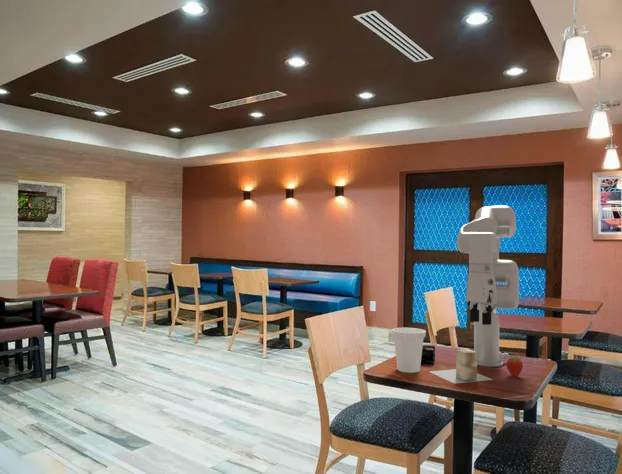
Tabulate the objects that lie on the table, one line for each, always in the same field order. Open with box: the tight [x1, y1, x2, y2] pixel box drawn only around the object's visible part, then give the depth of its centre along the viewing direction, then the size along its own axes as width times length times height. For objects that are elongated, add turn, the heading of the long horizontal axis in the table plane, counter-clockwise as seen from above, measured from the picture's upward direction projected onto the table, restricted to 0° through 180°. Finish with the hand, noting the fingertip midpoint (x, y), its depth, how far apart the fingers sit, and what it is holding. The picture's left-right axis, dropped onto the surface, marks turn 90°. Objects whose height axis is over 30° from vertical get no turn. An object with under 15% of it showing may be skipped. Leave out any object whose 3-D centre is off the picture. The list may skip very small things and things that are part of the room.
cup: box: [391, 327, 427, 374], centre depth 181 cm, size 12×12×15 cm
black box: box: [420, 345, 436, 366], centre depth 194 cm, size 10×7×7 cm
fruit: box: [506, 355, 524, 378], centre depth 174 cm, size 5×5×8 cm
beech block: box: [455, 348, 478, 383], centre depth 169 cm, size 5×5×10 cm
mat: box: [428, 368, 494, 385], centre depth 174 cm, size 16×16×1 cm
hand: (480, 322), depth 162 cm, fingers open, 5 cm apart
